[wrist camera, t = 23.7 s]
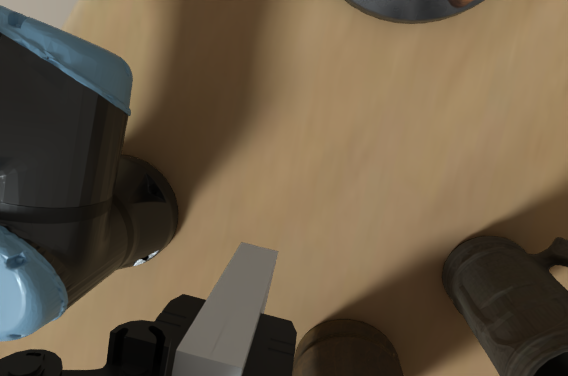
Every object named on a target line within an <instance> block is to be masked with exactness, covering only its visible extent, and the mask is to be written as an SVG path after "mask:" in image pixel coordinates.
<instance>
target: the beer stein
mask: <svg viewBox="0 0 568 376" xmlns="http://www.w3.org/2000/svg"><path fill="white" fill-rule="evenodd" d="M554 265H562V266H566V267H568V240H565V239H563V238H559V237H557V238H556V239H555V240H554V241H553V243H552V244H551V246H550V247H549V248H548V249H546V250H545V251H543V252H541V253H538V254H527V253H526V252H525V250H524V249H522V248H521V247H520V246H519V245H517V244H516V243H514V242H512V241H510V240H508V239H505V238H501V237H496V236H483V237H478V238H473V239H471V240H468V241H466V242H464V243H462V244H461V245H460V246H458V247H457V248H456V249H455V250H454V251H453V252H452V253H451V254H450V255H449V257H448V259H447V260H446V262H445V265H444V267H443V275H442V279H443V284H444V288H445V290H446V292H447V294H448V295H449V297H450V298H451V299H452V300H453V303H454V305H455V307H456V308H457V310H458V311H459V312H460V313H461V314H462V315H463V316H464V318H465V320H466V321H467V323H468V325H469V326H470V328H471V330H472V332H473V333H474V335H475V336H476V338H477V339H478V341H479V342H480V344H481V346H482V347H483V349H484V350H485V352H486V353H487V355H488V357H489V358H490V360H491V362H492V363H493V365H494V366H495V368H496V370H497V371H498V373H499V375H500V376H568V291H567V290H566V289H565V288H564V287H563V286H562V285H561V284H560V283H559V282H558V281H557V280H556V279H555V278H554V277H553V276H552V274H551V273H549V269H550V267H552V266H554Z"/></svg>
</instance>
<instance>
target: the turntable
mask: <svg viewBox="0 0 568 376" xmlns="http://www.w3.org/2000/svg"><path fill="white" fill-rule="evenodd" d="M345 1H346V2H347V3H349V4H350V5H351V6H353V7H354V8H356V9H358V10H360V11H361V12H363V13H365V14H367V15H370V16H373V17H375V18H378V19H381V20H385V21H390V22H394V23H405V24H417V23H428V22H434V21H439V20H443V19H446V18H449V17H452V16H456V15H458V14H460V13H462V12H465V11H467V10H469V9H471V8H473V7H475V6H476V5H478V4H479V3H481V2H483V1H484V0H345Z"/></svg>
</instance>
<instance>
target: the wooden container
mask: <svg viewBox="0 0 568 376" xmlns="http://www.w3.org/2000/svg"><path fill="white" fill-rule="evenodd" d="M292 376H403V373H402V369H401V366H400V363H399V359H398V356H397V354H396V351H395V349H394V347H393V345H392V344H391V342H390V341H389V340H388V338H387V337H386V336H385V335H383V334H382V333H381V332H380V331H378V330H377V329H375V328H374V327H372V326H370V325H367V324H365V323H362V322H359V321H354V320H334V321H329V322H325V323H322V324H320V325H318V326H316V327H314V328H313V329H311V330H310V331H309V332H308V333H307V334H306V335H305V336H304V337H303V338H302V340H301V341H300V343H299V345H298V347H297V350H296V353H295V357H294V364H293V373H292Z"/></svg>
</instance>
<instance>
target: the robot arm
mask: <svg viewBox="0 0 568 376" xmlns="http://www.w3.org/2000/svg"><path fill="white" fill-rule="evenodd" d="M132 82H133V76H132V72H131V69H130V67H129V66H128V64H127V63H126V62H125V61H124V60H123V59H122V58H121V57H119V56H118V55H116V54H114V53H112V52H110V51H108V50H106V49H103V48H101V47H99V46H97V45H95V44H92V43H90V42H88V41H86V40H83V39H81V38H79V37H77V36H74V35H72V34H70V33H67V32H65V31H62V30H60V29H58V28H55V27H53V26H50V25H48V24H46V23H43V22H41V21H38V20H35V19H33V18H30V17H26V16H25V15H23V14H20V13H17V12H15V11H12V10H10V9H8V8H6V7H3V6H0V341H10V340H16V339H20V338H22V337H26V336H28V335H30V334H32V333H34V332H35V331H37V330H38V329H40V328H41V327H43V326H44V325H46V324H47V323H49V322H50V321H53V320H56V319H58V318H59V317H60V316H61V315H62V314H63V313H64V312H65V310H67V309H68V308H69V307H70V306H71V305H73V304H74V303H75V302H76V301H78V300H79V299H80V298H81V297H83V296H84V295H85V294H86V293H88V292H89V291H90V290H92V289H93V288H94V287H95V286H97V285H98V284H99V283H100V282H102V281H103V280H104V279H105V278H107V277H108V276H109V275H111V274H112V273H113V272H114V271H115V270H118V269H122V268H127V267H131V266H136V265H139V264H142V263H145V262H147V261H149V260H150V259H152V258H153V257H155V256H156V255H157V254H158V253H159V252H161V251H162V250H163V249H164V248H165V247H166V246H167V245H168V244H169V242H170V241H171V239H172V237H173V235H174V233H175V230H176V227H177V222H178V207H177V202H176V198H175V195H174V193H173V190H172V188H171V186H170V185H169V183H168V182H167V180H166V179H165V178H164V176H163V175H162V174H161V173H160V172H159V171H158V170H157V169H155V168H154V167H153V166H152V165H150V164H148V163H147V162H145V161H143V160H141V159H138V158H135V157H132V156H127V155H121V152H122V147H123V142H124V137H125V131H126V126H127V121H128V116H130V115H131V110H130V109H129V105H130V97H131V89H132ZM277 255H278V251H275V250H271V249H267V248H263V247H259V246H255V245H251V244H247V243H243V242H241V244H240V246H239V247H238V249H237V251H236V252H235V254H234V256H233V257H232V259H231V260H230V262H229V264H228V265H227V267H226V269H225V270H224V272H223V274H222V275H221V277H220V279H219V280H218V282H217V284H216V285H215V287H214V288H213V290H212V292H211V293H210V295H209V297H208V298H207V300H204V299H200V298H196V297H193V296H189V295H185V294H182V295H181V296H179V297H177V298H175V299H173V300H171V301H170V302H169V303H168V304H167V306H166V307H165V308H164V310H163V311H162V313H160V315H159V316H158V317H157V318H156V320H155V321H154V322H152V321H145V320H139V321H130V322H127V323H124V324H121V325H119V326H117V327H116V328H115V329H113V330H112V331H110V338H109V346H108V354H107V362H106V365H105V366H104V367H103V368H101V369H95V370H62V368H63V367H62V361H61V358H59V357H58V356H57V355H56V354H55V353H53V352H50V351H47V350H36V349H30V350H25V351H20V352H16V353H13V354H11V355H9V356H6V357H4V358H2V359H0V376H292V371H293V362H294V354H295V345H296V336H297V332H296V330H295V328H294V326H293V323H292V321H289V320H285V319H281V318H277V317H274V316H270V315H266V314H264V310H265V306H266V302H267V297H268V293H269V289H270V285H271V280H272V276H273V272H274V268H275V263H276V259H277Z"/></svg>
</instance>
